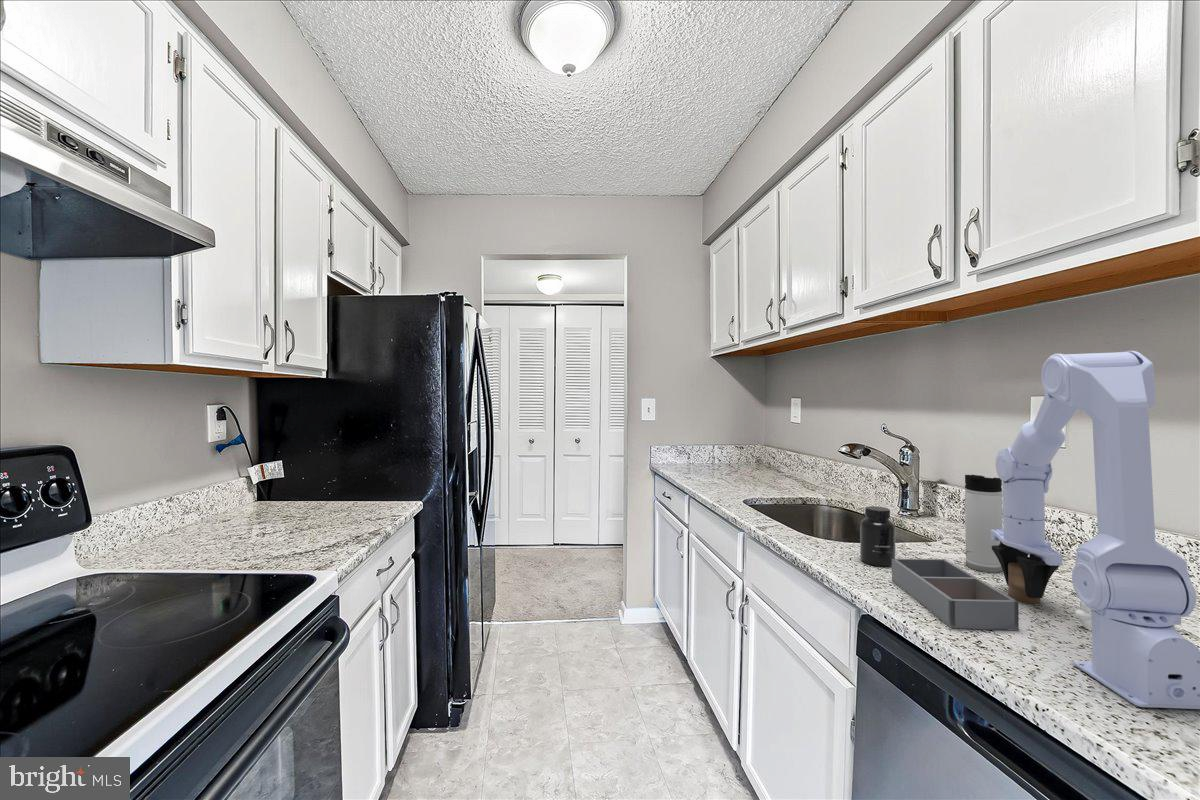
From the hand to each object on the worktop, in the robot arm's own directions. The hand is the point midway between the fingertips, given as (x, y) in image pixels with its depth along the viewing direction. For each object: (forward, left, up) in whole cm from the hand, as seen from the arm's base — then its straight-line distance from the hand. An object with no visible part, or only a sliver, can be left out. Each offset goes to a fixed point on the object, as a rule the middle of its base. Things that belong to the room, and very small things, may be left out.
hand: (1024, 591), depth 90 cm
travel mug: (+16, -3, -2) cm, 16 cm away
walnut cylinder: (0, 0, -1) cm, 1 cm away
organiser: (-2, +14, -1) cm, 14 cm away
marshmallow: (-11, -3, -2) cm, 12 cm away
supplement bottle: (+19, +17, -2) cm, 26 cm away
